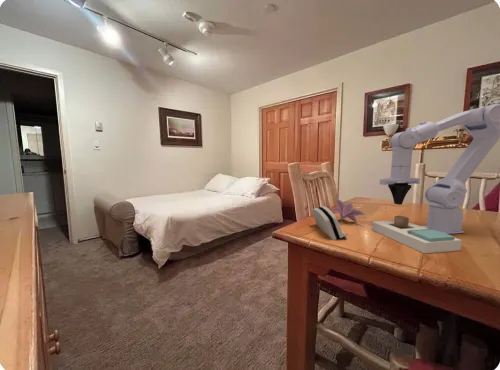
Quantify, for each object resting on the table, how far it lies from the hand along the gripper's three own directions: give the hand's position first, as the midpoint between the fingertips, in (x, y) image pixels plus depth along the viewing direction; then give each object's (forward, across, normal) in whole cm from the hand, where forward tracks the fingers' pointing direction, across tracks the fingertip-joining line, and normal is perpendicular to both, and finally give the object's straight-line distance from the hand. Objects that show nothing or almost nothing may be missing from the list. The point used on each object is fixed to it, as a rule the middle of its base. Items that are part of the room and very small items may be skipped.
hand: (398, 204), depth 78 cm
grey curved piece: (+10, +26, -2) cm, 28 cm away
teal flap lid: (+6, +3, +12) cm, 14 cm away
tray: (+9, +3, +9) cm, 13 cm away
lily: (+10, +13, -11) cm, 20 cm away
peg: (+9, +3, +5) cm, 11 cm away
